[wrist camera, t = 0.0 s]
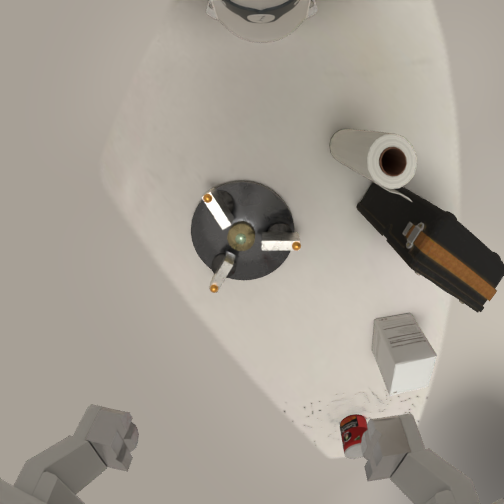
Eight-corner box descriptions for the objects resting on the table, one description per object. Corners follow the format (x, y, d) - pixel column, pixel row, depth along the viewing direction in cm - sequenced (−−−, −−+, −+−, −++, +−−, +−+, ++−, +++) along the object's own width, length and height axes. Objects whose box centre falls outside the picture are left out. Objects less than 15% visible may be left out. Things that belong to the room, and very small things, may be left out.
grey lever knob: (221, 244, 55) (215, 258, 50) (243, 256, 56) (240, 271, 51) (206, 271, 58) (199, 287, 52) (227, 282, 58) (223, 299, 53)
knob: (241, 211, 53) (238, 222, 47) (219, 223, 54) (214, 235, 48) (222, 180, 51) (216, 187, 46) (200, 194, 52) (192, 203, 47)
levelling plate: (189, 182, 53) (183, 187, 49) (294, 180, 52) (296, 185, 48) (197, 275, 60) (192, 286, 56) (292, 276, 59) (293, 287, 55)
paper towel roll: (330, 126, 48) (369, 129, 29) (364, 131, 48) (420, 138, 28) (327, 168, 51) (363, 197, 31) (361, 172, 51) (413, 202, 31)
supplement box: (406, 343, 65) (428, 388, 51) (371, 350, 66) (388, 397, 52) (411, 311, 61) (438, 355, 48) (374, 317, 62) (395, 365, 48)
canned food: (353, 410, 74) (360, 442, 64) (371, 418, 76) (378, 448, 66) (333, 424, 77) (338, 455, 67) (352, 431, 78) (357, 461, 68)
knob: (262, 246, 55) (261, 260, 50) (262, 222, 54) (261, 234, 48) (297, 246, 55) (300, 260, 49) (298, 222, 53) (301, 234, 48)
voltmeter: (350, 210, 54) (404, 275, 31) (375, 169, 51) (447, 207, 28) (412, 249, 56) (478, 322, 33) (435, 213, 53) (515, 269, 30)
